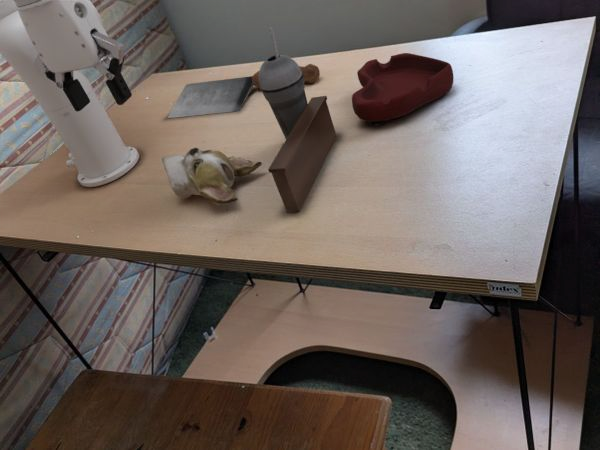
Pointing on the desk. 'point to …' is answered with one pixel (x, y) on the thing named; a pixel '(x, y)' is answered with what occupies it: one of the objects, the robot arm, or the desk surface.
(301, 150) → the backboard
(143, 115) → the desk surface
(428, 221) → the desk surface
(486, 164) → the desk surface
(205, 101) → the meat cleaver
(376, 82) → the ashtray
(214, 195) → the ceramic sculpture
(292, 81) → the beverage cup
